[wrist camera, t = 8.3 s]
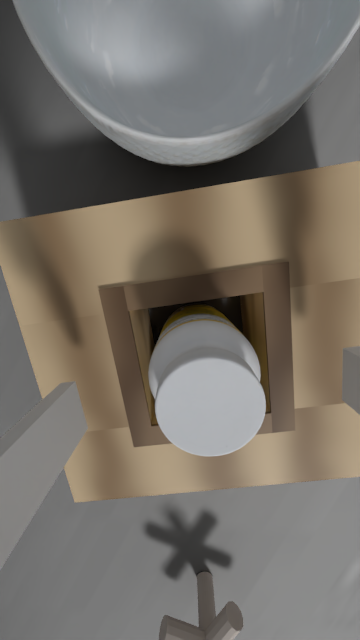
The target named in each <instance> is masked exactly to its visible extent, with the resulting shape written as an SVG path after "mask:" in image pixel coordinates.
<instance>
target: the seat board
mask: <svg viewBox="0 0 360 640" xmlns="http://www.w3.org/2000/svg"><path fill="white" fill-rule="evenodd" d="M0 265H1V268H2V271H3V274H4V277H5V281H6V284H7V287H8V290H9V293H10V297H11V300H12V303H13V306H14V309H15V313H16V316H17V319H18V322H19V325H20V329H21V332H22V335H23V338H24V341H25V345H26V348H27V351H28V354H29V357H30V361H31V364H32V367H33V370H34V373H35V377H36V380H37V383H38V386H39V389H40V393H41V396H42V399H44V398H45V397H46V396H47V395H48V394H49V393H50V392H51V391H52V390H54V389H55V388H56V387H57V386H58V385H59V384H60V383H65V382H73V381H75V382H76V386H77V389H78V393H79V397H80V401H81V404H82V408H83V412H84V415H85V419H86V423H87V426H88V429H87V430H86V432H85V434H84V435H83V437H82V439H81V440H80V442H79V443H78V445H77V447H76V448H75V450H74V452H73V453H72V455H71V456H70V458H69V460H68V461H67V463H66V465H65V466H64V469H65V473H66V476H67V479H68V482H69V485H70V489H71V492H72V495H73V498H74V501H75V503H76V502H87V501H98V500H108V499H119V498H130V497H141V496H152V495H163V494H174V493H185V492H196V491H207V490H218V489H229V488H240V487H251V486H262V485H273V484H284V483H295V482H306V481H317V480H328V479H339V478H350V477H360V415H359V414H358V413H357V412H356V411H355V410H353V409H352V408H351V407H350V406H349V405H347V404H346V403H345V402H344V401H343V400H342V366H343V348H348V347H356V346H360V161H356V162H350V163H344V164H338V165H333V166H327V167H321V168H315V169H309V170H303V171H297V172H291V173H285V174H280V175H274V176H268V177H262V178H256V179H250V180H244V181H238V182H232V183H226V184H221V185H215V186H209V187H203V188H197V189H191V190H185V191H179V192H173V193H168V194H162V195H156V196H150V197H144V198H138V199H132V200H126V201H120V202H115V203H109V204H103V205H97V206H91V207H85V208H79V209H73V210H67V211H62V212H56V213H50V214H44V215H38V216H32V217H26V218H20V219H14V220H9V221H3V222H0ZM239 295H240V304H241V316H242V327H243V335H244V336H245V338H246V339H247V340H248V341H249V342H250V344H251V345H252V347H253V349H254V350H255V353H256V355H257V357H258V360H259V365H260V373H261V377H260V383H261V385H262V388H263V390H264V394H265V399H266V411H265V416H264V420H263V423H262V425H261V427H260V429H259V430H258V432H257V433H256V435H255V436H254V437H253V438H252V439H251V440H250V441H249V442H248V443H247V444H246V445H244V446H243V447H241V448H240V449H238V450H236V451H234V452H232V453H229V454H225V455H221V456H210V457H209V456H199V455H194V454H191V453H188V452H186V451H184V450H182V449H180V448H178V447H177V446H175V445H174V444H173V443H172V442H170V441H169V440H168V438H167V437H166V436H165V435H164V433H163V432H162V430H161V429H160V427H159V424H158V422H157V419H156V414H155V398H154V396H153V394H152V392H151V389H150V385H149V377H148V371H149V364H150V360H151V356H152V353H153V351H154V348H155V344H154V338H153V333H152V327H151V321H150V316H149V310H148V308H153V307H160V306H168V305H175V304H182V303H189V302H196V301H203V300H210V299H217V298H225V297H232V296H239Z"/></svg>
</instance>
